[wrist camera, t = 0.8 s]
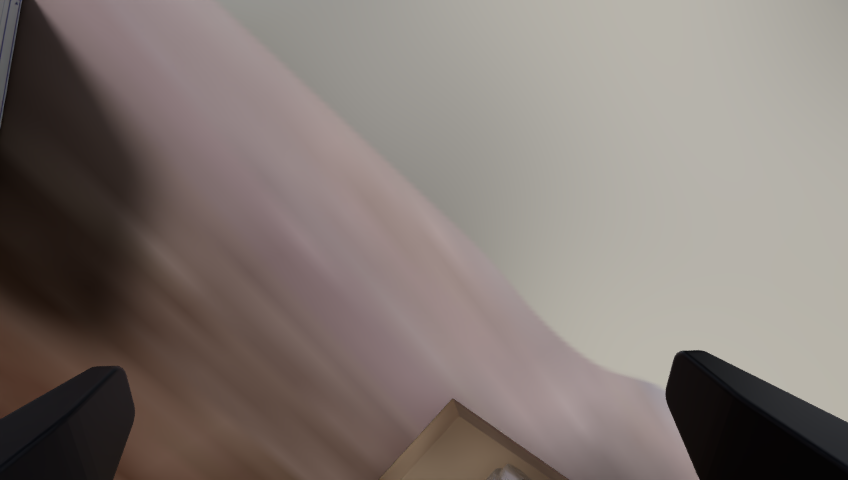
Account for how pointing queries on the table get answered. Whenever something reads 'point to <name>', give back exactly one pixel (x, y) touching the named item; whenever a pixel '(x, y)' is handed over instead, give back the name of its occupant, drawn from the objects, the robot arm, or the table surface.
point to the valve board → (466, 452)
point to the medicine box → (7, 43)
